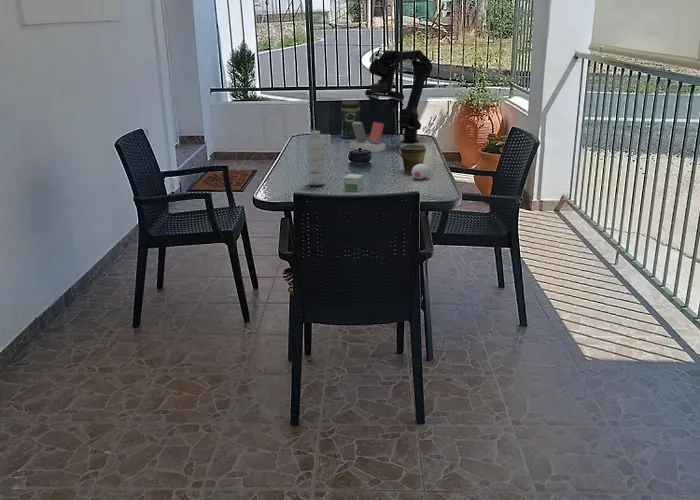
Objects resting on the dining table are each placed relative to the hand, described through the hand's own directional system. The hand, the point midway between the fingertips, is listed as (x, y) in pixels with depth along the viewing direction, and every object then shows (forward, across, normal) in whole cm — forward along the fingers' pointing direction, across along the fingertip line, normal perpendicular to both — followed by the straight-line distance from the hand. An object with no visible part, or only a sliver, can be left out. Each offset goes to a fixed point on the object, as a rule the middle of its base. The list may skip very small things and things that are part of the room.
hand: (381, 113), depth 293 cm
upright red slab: (+13, 0, -1) cm, 13 cm away
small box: (+32, +39, -55) cm, 75 cm away
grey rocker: (+13, -8, -1) cm, 15 cm away
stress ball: (+25, +48, -29) cm, 61 cm away
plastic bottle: (+34, +25, -60) cm, 73 cm away
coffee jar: (+12, -30, +16) cm, 36 cm away
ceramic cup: (+23, +38, -22) cm, 50 cm away
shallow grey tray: (+17, -4, 0) cm, 17 cm away
